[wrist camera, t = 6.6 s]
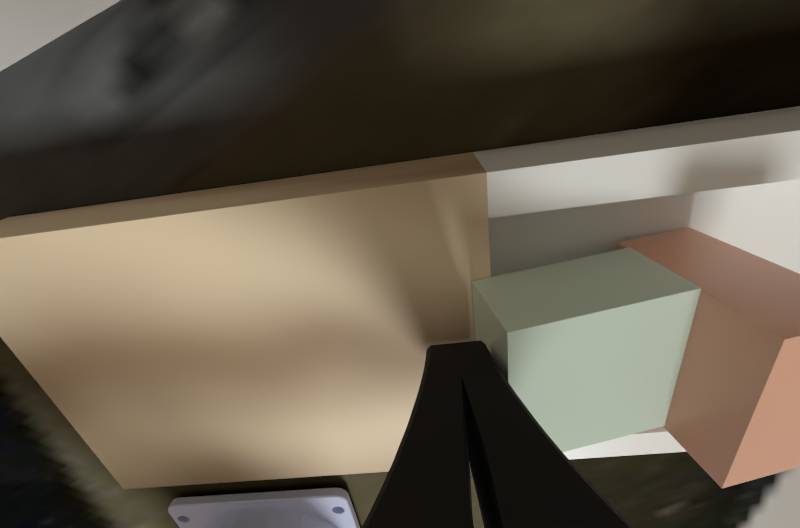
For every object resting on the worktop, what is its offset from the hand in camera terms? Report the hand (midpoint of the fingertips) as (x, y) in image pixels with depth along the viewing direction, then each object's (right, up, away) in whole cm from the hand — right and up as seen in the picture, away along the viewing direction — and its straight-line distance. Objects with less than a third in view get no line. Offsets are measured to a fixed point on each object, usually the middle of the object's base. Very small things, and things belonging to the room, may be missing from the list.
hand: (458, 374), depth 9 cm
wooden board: (-5, +1, +3) cm, 6 cm away
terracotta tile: (+5, +1, 0) cm, 5 cm away
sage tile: (+3, +1, +1) cm, 3 cm away
